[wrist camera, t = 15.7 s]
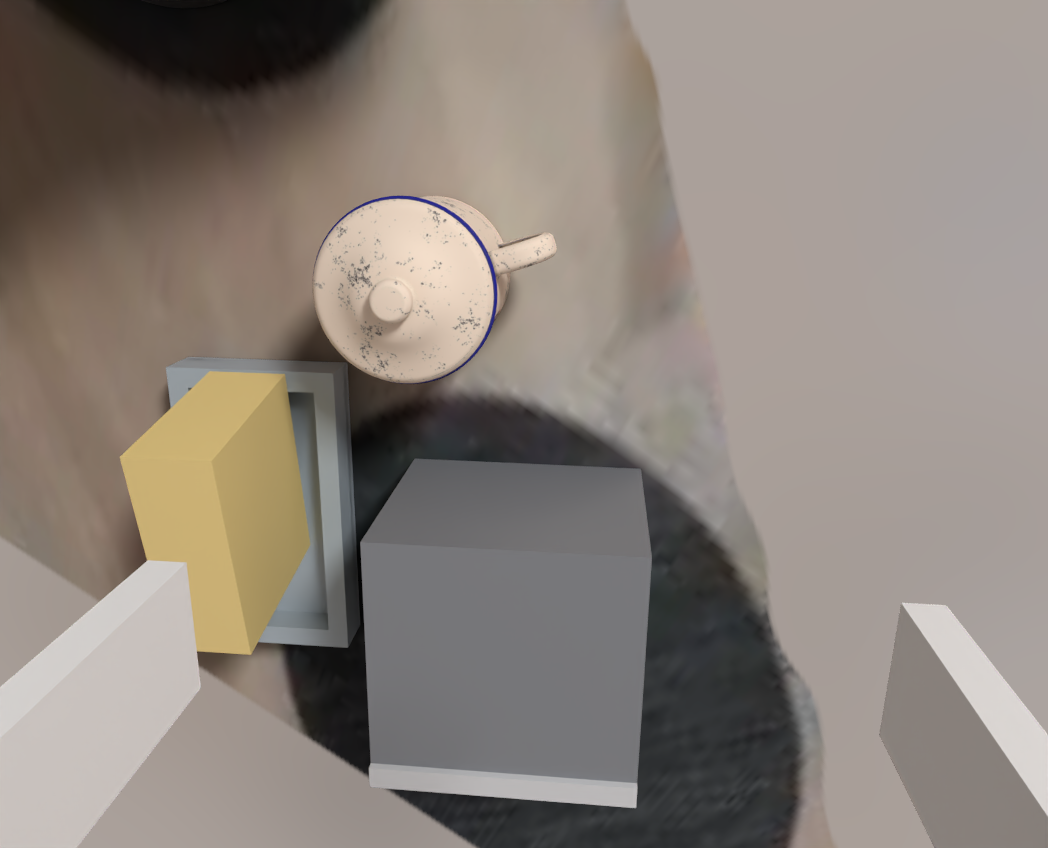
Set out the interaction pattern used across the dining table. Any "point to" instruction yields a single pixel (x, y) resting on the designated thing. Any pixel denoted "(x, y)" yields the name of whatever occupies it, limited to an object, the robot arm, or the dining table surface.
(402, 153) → the dining table surface
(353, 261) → the teacup with lid
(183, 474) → the yellow cuboid
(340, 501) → the tray
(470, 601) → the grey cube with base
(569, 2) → the dining table surface
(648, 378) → the dining table surface
